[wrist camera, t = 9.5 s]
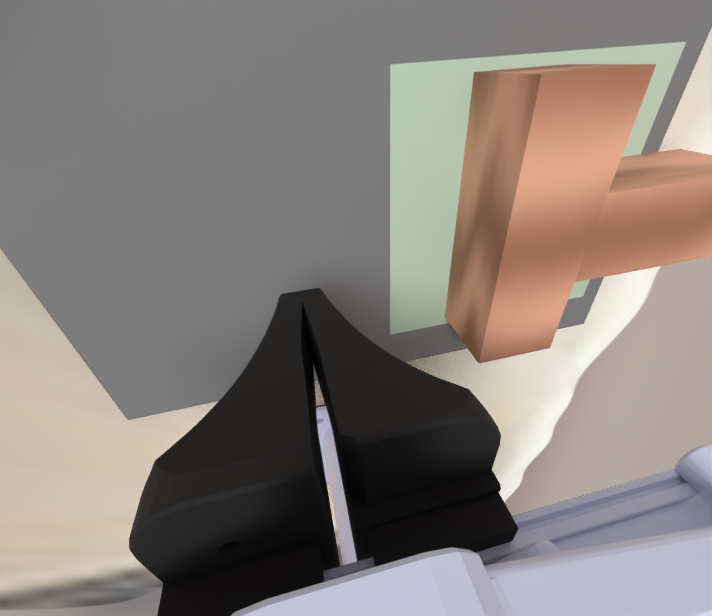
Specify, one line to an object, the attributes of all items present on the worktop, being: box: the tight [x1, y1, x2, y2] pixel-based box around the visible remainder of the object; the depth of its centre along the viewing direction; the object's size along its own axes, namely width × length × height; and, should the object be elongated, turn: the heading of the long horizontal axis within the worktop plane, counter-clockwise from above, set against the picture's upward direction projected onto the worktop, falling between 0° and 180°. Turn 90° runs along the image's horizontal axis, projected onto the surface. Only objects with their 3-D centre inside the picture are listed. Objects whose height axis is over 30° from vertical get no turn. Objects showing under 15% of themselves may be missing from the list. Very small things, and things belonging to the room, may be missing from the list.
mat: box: [0, 0, 712, 420], centre depth 16 cm, size 18×30×1 cm, turn 93°
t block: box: [445, 64, 712, 363], centre depth 16 cm, size 12×12×4 cm
